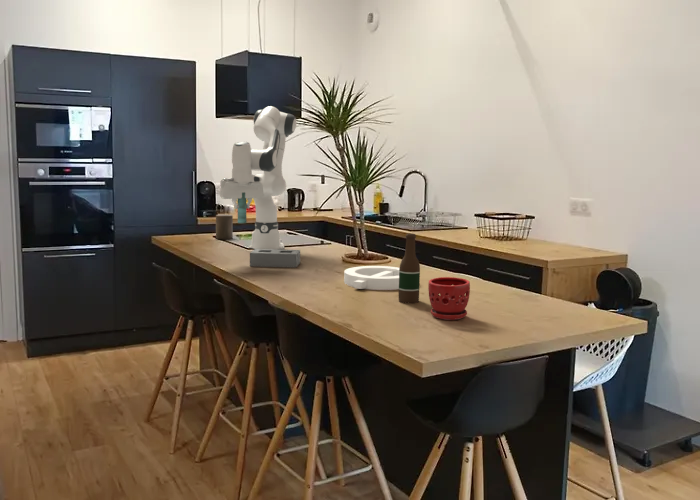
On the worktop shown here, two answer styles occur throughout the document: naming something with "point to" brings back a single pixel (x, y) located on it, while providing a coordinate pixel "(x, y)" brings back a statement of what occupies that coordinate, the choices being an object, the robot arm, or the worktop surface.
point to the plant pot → (449, 297)
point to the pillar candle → (224, 226)
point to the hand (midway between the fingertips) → (242, 208)
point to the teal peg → (242, 209)
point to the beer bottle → (409, 273)
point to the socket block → (274, 258)
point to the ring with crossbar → (372, 277)
